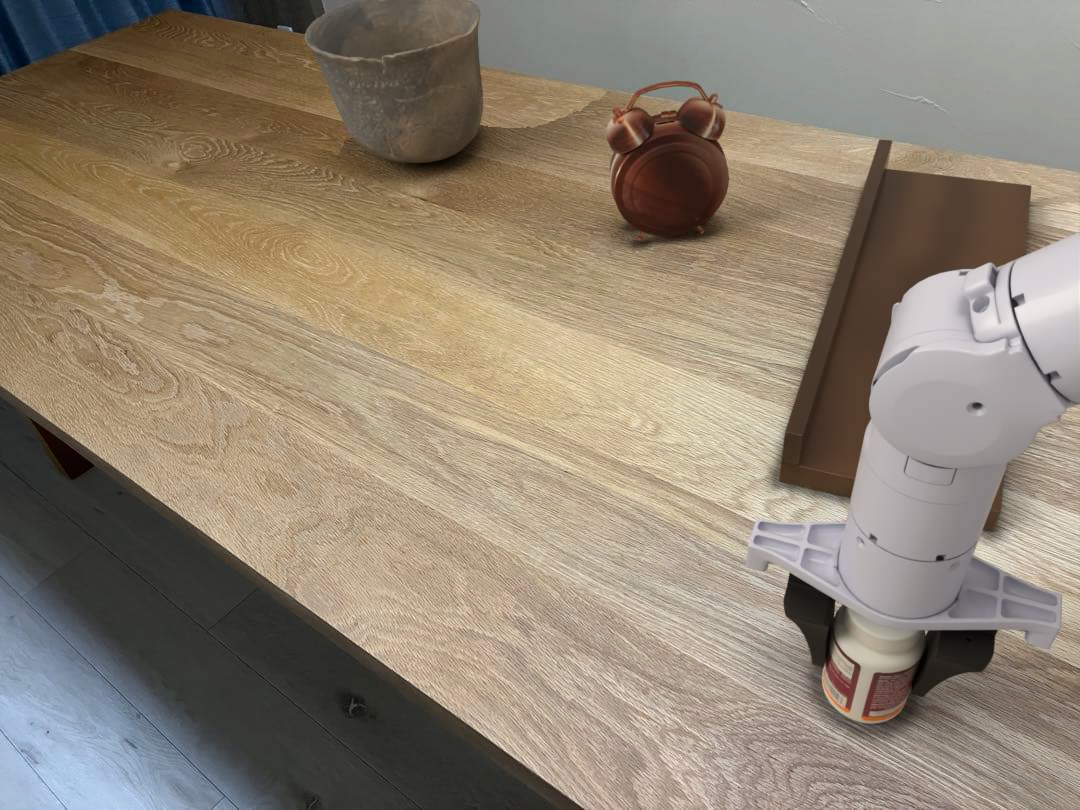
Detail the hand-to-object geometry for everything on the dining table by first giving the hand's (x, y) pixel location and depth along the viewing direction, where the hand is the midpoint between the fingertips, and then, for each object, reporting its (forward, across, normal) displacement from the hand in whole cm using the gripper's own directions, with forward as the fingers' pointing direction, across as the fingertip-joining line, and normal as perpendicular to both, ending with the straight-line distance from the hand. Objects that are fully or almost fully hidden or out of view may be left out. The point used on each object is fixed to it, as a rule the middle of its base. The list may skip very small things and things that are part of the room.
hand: (869, 665), depth 51 cm
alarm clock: (+3, +25, -42) cm, 49 cm away
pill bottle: (+3, 0, 0) cm, 3 cm away
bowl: (+2, +57, -50) cm, 76 cm away
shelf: (+2, +1, -34) cm, 35 cm away
